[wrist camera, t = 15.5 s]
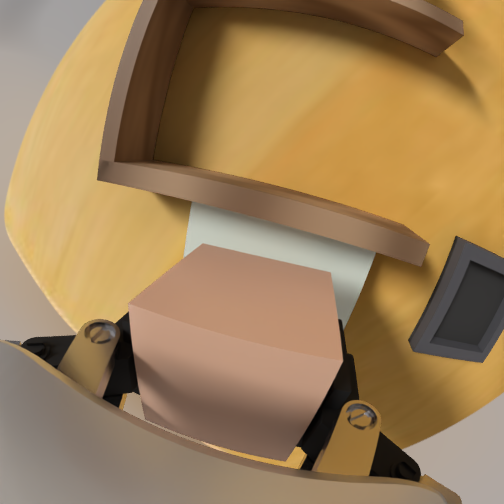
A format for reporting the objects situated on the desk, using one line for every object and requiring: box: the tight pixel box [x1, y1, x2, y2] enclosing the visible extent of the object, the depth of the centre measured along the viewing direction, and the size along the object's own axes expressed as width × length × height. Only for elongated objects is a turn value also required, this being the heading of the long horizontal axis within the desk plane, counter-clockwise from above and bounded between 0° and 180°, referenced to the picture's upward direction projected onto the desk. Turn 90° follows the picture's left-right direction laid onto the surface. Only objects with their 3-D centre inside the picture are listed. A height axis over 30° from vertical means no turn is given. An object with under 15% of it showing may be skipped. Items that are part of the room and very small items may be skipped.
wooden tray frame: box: [97, 0, 464, 267], centre depth 10 cm, size 15×12×4 cm
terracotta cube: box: [128, 243, 343, 461], centre depth 9 cm, size 5×5×5 cm
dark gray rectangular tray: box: [408, 236, 504, 363], centre depth 12 cm, size 7×7×1 cm
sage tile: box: [184, 201, 376, 330], centre depth 14 cm, size 9×8×2 cm
